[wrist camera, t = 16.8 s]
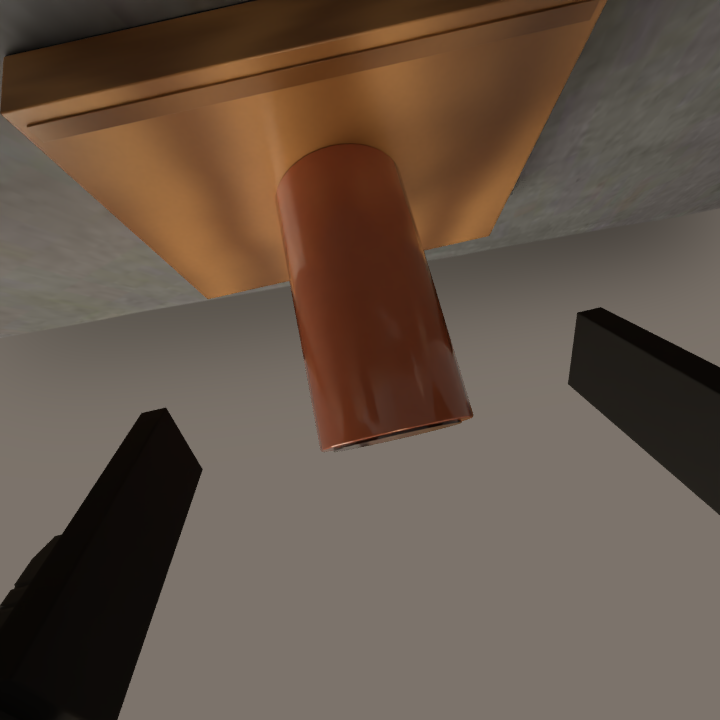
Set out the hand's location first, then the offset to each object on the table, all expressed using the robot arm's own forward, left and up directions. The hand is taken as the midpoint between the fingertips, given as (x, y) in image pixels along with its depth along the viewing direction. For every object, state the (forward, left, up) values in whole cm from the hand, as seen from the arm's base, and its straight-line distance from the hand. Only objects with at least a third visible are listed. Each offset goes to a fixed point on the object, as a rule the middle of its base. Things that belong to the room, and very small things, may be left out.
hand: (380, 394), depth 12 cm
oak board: (0, -4, -13) cm, 14 cm away
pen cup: (0, -4, -11) cm, 11 cm away
